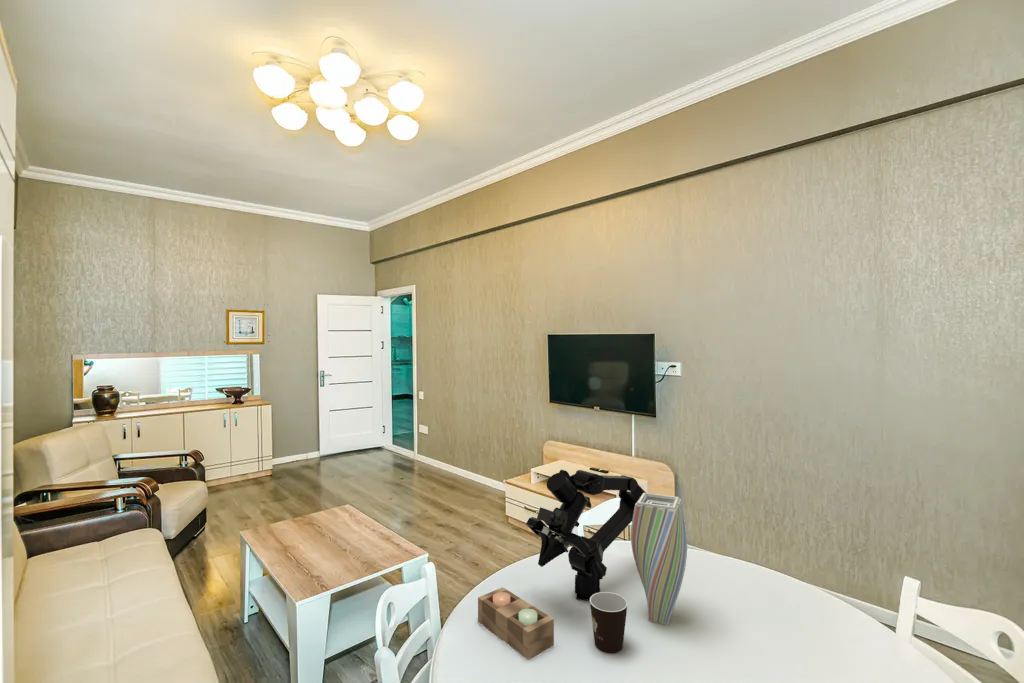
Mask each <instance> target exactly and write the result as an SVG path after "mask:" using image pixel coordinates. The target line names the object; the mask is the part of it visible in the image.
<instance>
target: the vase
mask: <svg viewBox="0 0 1024 683" xmlns="http://www.w3.org/2000/svg"><path fill="white" fill-rule="evenodd" d="M686 526H687V525H686V520H685V512H684V507H683V502H682V498H680V497H679V496H674V495H673V496H672V495H667V494H666V495H664V494H656V493H649V492H646V493H643V494H642V495H641V497H640V498H639V500H638V501H637V503H636V504H635V507H634V513H633V519H632V522H631V527H630V528H631V529H630V531H631V532H630V544H631V550H632V551H631V552H632V555H633V559H634V562H635V566H636V569H637V572H638V576H639V578H640V580H641V584H642V587H643V589H644V593H645V597H646V598H645V599H646V603H647V605H646V606H647V621H648V622H649V621H650V622H653V623H657V624H663V625H666V626H669V623H670V619H671V617H672V613H673V612H674V608H675V605H676V603H677V601H678V597H679V594H680V591H681V588H682V585H683V580H684V576H685V571H686V566H687V557H688V536H687V535H688V533H687V527H686Z"/></svg>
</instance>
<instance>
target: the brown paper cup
mask: <svg viewBox="0 0 1024 683" xmlns="http://www.w3.org/2000/svg"><path fill="white" fill-rule="evenodd" d="M589 606H590V607H589V608H590V616H591V624H592V632H593V640H594V646H595V648H596V649H597V650H598V651H600V652H602V653H604V654H610V655H611V654H612V655H614V654H618V653H620V652H621V651H622V650H623V648H624V647H623V646H624V638H625V629H626V622H627V610H628V601H627V599H626V598H625V597H623V596H622V595H620V594H618V593H616V592H610V591H602V592H601V591H600V592H599V593H594V594H593V595H592V596H591V597H590V601H589Z"/></svg>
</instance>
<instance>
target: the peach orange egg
mask: <svg viewBox="0 0 1024 683" xmlns="http://www.w3.org/2000/svg"><path fill="white" fill-rule="evenodd" d="M509 603H510V595H509V594H508V593H505V592H498V593H495V594H494V595H493V604H495V605H496V606H498V607H499V608H500V607H503V606H505V605H507V604H509Z"/></svg>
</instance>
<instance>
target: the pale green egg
mask: <svg viewBox="0 0 1024 683" xmlns="http://www.w3.org/2000/svg"><path fill="white" fill-rule="evenodd" d="M519 621H520V622H521V623H523V624H524V625H526V626H529V625H531V624H533V623H535V622H537V612H536V611H535V610H533V609H523V610H521V611H520V612H519Z"/></svg>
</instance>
